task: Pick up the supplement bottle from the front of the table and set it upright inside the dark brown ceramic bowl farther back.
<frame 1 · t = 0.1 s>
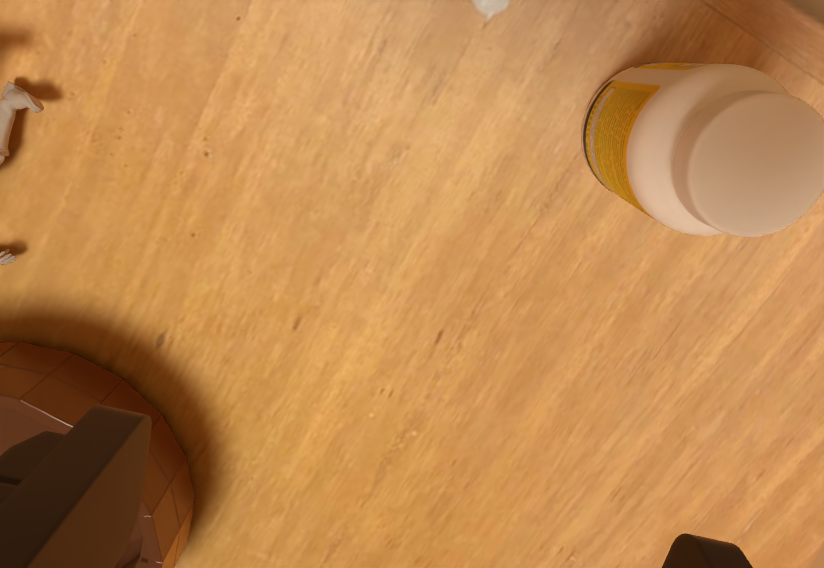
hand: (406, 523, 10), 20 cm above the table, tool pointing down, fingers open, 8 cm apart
supplement bottle: (643, 131, 28), on the table
bowl: (43, 479, 33), on the table
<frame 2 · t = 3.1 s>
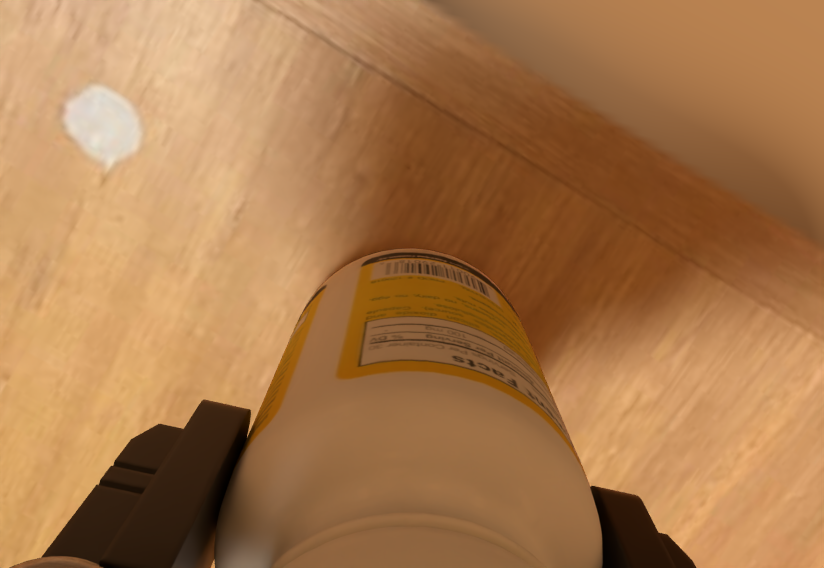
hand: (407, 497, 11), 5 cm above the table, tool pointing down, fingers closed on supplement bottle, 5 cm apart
supplement bottle: (411, 350, 16), on the table, touching gripper
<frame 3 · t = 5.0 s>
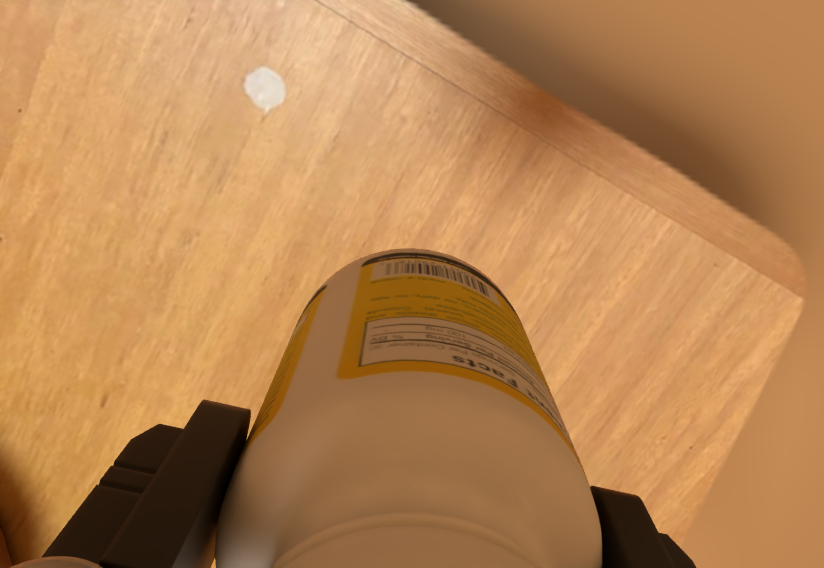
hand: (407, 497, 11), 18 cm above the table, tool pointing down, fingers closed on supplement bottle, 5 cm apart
supplement bottle: (411, 350, 16), point 13 cm above the table, touching gripper
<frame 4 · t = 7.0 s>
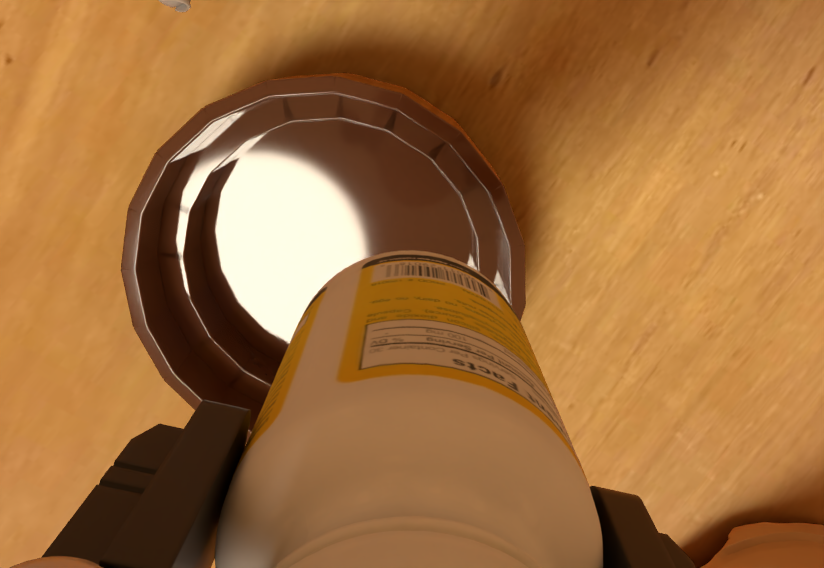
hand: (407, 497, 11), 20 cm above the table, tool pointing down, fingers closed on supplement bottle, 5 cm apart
supplement bottle: (411, 352, 16), point 14 cm above the table, touching gripper
bowl: (339, 250, 30), on the table
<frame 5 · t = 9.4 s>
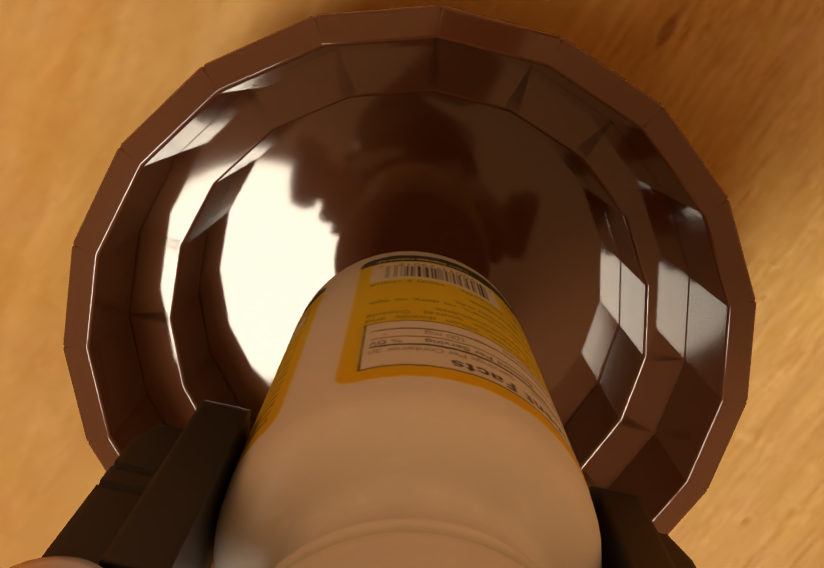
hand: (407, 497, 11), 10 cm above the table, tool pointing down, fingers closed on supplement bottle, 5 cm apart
supplement bottle: (410, 352, 16), point 4 cm above the table, touching gripper
bowl: (410, 300, 20), on the table
when the fingers open (6 cm above the table, at t = 10.9 s): supplement bottle stays where it is, resting on bowl.
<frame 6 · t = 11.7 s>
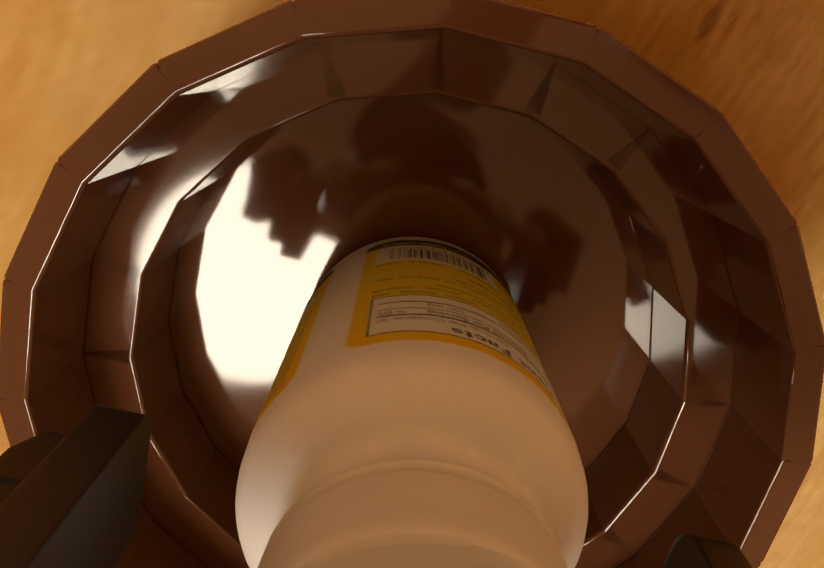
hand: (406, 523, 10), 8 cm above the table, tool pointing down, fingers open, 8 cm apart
supplement bottle: (413, 334, 17), resting on bowl
bowl: (411, 330, 17), on the table
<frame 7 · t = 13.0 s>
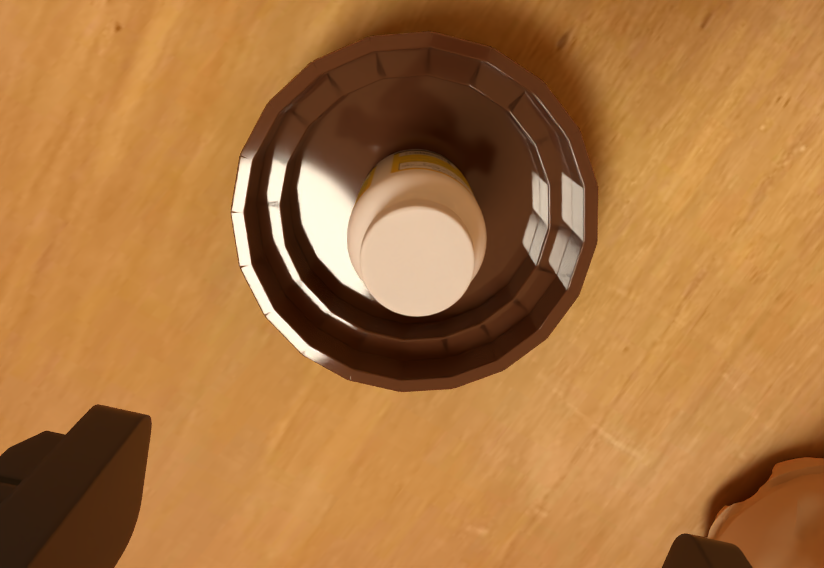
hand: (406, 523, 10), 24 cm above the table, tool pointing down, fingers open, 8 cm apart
supplement bottle: (416, 203, 32), resting on bowl
container: (792, 540, 39), on the table
bowl: (415, 203, 33), on the table
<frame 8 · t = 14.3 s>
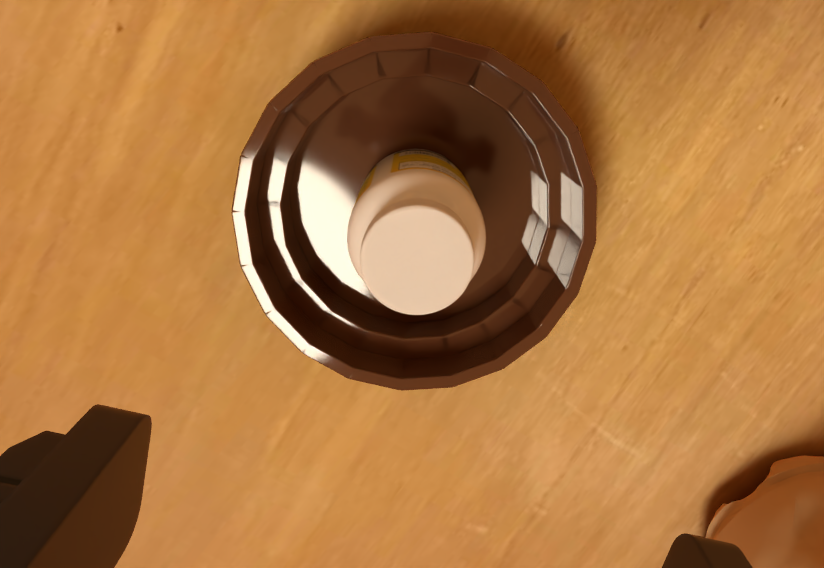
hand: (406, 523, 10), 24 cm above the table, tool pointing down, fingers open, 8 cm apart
supplement bottle: (416, 203, 32), resting on bowl
container: (791, 538, 39), on the table
bowl: (415, 202, 33), on the table
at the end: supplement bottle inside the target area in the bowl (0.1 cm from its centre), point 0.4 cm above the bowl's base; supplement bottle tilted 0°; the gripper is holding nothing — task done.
